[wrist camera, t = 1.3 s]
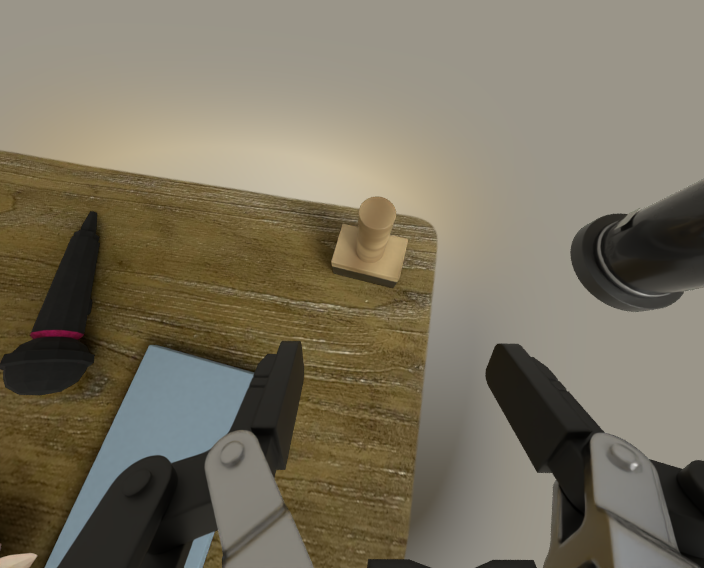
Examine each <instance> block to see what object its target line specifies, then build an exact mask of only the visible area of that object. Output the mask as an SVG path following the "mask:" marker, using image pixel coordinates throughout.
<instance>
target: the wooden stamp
mask: <svg viewBox="0 0 704 568" xmlns="http://www.w3.org/2000/svg"><path fill="white" fill-rule="evenodd" d="M395 218H396V210H395V207H394V205H393V204H392V203H391V202H390V201H389V200H387V199H385V198H383V197H371V198H368V199H367V200H365V201H364V202H363V203H362V204H361V206H360V208H359V217H358V227H355V226H351V225H347V224H342V228H341V231H340V234H339V237H338V241H337V244H336V247H335V251H334V254H333V257H332V261H331V264H332V269H333V273H334V274H338V275H342V276H346V277H350V278H354V279H358V280H362V281H366V282H370V283H374V284H378V285H382V286H386V287H390V288H394V286H395V285H396V283H397V282H398V280H399V279H400V274H401V269H402V265H403V260H404V256H405V251H406V247H407V242H408V239H405V238H401V237H397V236H393V235H390V233H391V230H392V227H393V224H394V221H395Z"/></svg>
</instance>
